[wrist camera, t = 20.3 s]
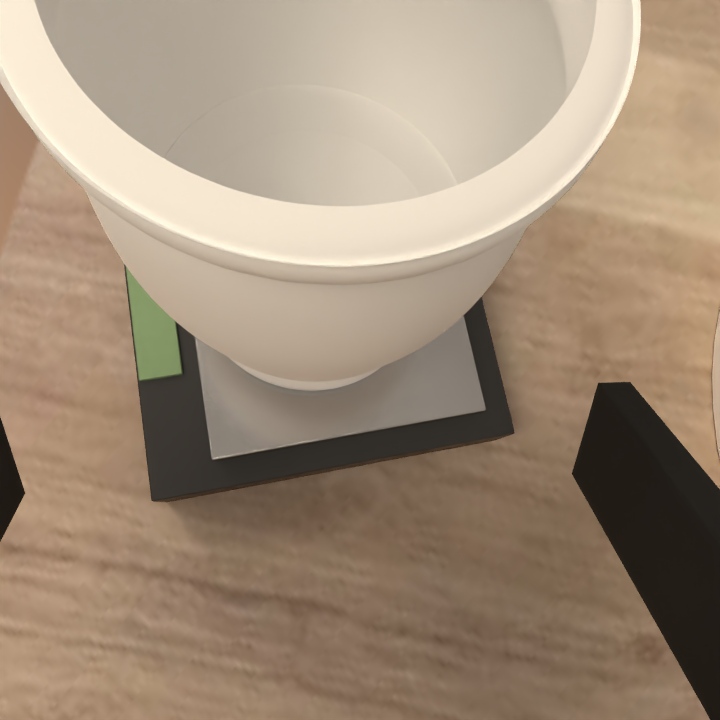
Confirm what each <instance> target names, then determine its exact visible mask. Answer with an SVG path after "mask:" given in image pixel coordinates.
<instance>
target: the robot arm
mask: <svg viewBox="0 0 720 720" xmlns="http://www.w3.org/2000/svg"><path fill="white" fill-rule="evenodd" d="M572 475H573V477H574V478H575V480H576V482H577V484H578V486H579V487H580V489H581V491H582V493H583V494H584V496H585V498H586V500H587V501H588V503H589V505H590V507H591V509H592V510H593V512H594V514H595V516H596V517H597V519H598V521H599V523H600V525H601V526H602V528H603V530H604V532H605V533H606V535H607V537H608V539H609V541H610V542H611V544H612V546H613V548H614V549H615V551H616V553H617V555H618V556H619V558H620V560H621V562H622V564H623V565H624V567H625V569H626V571H627V572H628V574H629V576H630V578H631V580H632V581H633V583H634V585H635V587H636V588H637V590H638V592H639V594H640V596H641V597H642V599H643V601H644V603H645V604H646V606H647V608H648V610H649V611H650V613H651V615H652V617H653V619H654V620H655V622H656V624H657V626H658V627H659V629H660V631H661V633H662V635H663V636H664V638H665V640H666V642H667V643H668V645H669V647H670V649H671V651H672V652H673V654H674V656H675V658H676V659H677V661H678V663H679V665H680V666H681V668H682V670H683V672H684V674H685V675H686V677H687V679H688V681H689V682H690V684H691V686H692V688H693V690H694V691H695V693H696V695H697V697H698V698H699V700H700V702H701V704H702V706H703V707H704V709H705V711H706V713H707V714H708V716H709V718H710V720H720V489H719V488H718V487H717V486H716V485H715V483H714V482H713V481H712V480H711V479H710V477H709V476H708V475H707V474H706V473H705V471H704V470H703V469H702V468H701V467H700V465H699V464H698V463H697V462H696V461H695V459H694V458H693V457H692V456H691V455H690V453H689V452H688V451H687V450H686V449H685V447H684V446H683V445H682V444H681V443H680V441H679V440H678V439H677V438H676V437H675V435H674V434H673V433H672V432H671V431H670V429H669V428H668V427H667V426H666V425H665V423H664V422H663V421H662V420H661V419H660V417H659V416H658V415H657V414H656V413H655V411H654V410H653V409H652V408H651V407H650V405H649V404H648V403H647V402H646V401H645V399H644V398H643V397H642V396H641V395H640V393H639V392H638V391H637V390H636V389H635V387H634V386H633V385H632V384H631V383H630V382H616V383H598V386H597V389H596V393H595V396H594V400H593V403H592V406H591V410H590V413H589V417H588V420H587V424H586V427H585V431H584V434H583V438H582V441H581V445H580V448H579V451H578V455H577V458H576V462H575V465H574V469H573V472H572ZM24 494H25V491H24V488H23V485H22V482H21V479H20V476H19V473H18V470H17V467H16V464H15V461H14V458H13V455H12V452H11V448H10V445H9V442H8V439H7V436H6V433H5V430H4V427H3V424H2V421H1V418H0V541H1V539H2V537H3V535H4V533H5V531H6V529H7V527H8V526H9V524H10V522H11V520H12V518H13V516H14V514H15V512H16V510H17V508H18V506H19V504H20V502H21V500H22V498H23V496H24Z"/></svg>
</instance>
